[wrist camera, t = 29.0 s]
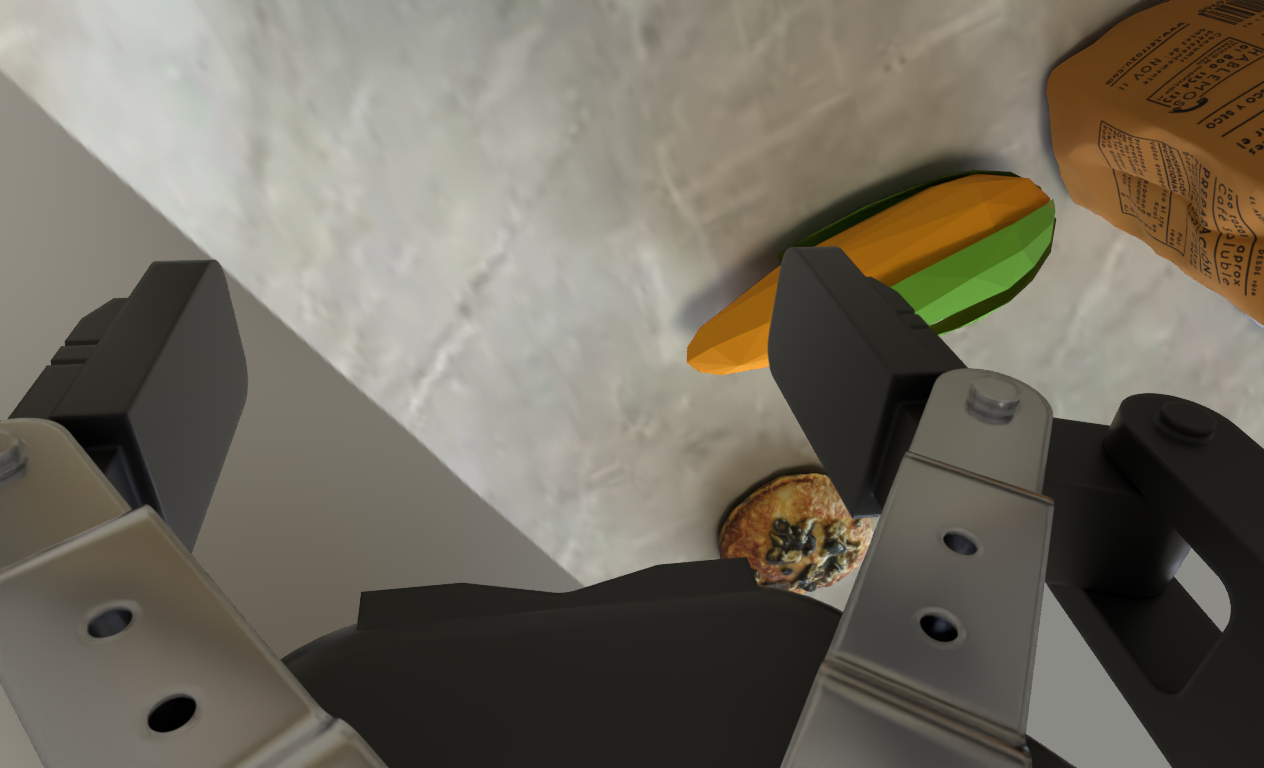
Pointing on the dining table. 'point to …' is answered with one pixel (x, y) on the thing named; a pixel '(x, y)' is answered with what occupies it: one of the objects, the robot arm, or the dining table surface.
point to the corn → (911, 260)
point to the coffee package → (1173, 138)
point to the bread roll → (796, 534)
